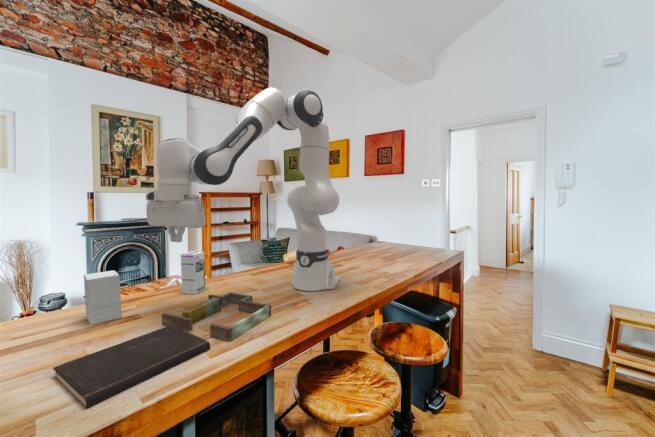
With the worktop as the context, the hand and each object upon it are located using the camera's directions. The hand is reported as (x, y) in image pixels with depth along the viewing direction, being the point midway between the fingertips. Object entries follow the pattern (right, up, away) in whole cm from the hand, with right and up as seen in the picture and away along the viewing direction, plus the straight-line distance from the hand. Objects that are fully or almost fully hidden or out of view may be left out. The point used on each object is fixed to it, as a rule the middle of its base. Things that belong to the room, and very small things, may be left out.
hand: (176, 241), depth 88 cm
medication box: (+9, -22, -2) cm, 24 cm away
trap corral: (+15, -21, -2) cm, 26 cm away
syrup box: (-4, -20, +21) cm, 29 cm away
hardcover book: (+5, -24, -26) cm, 35 cm away
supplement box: (-19, -22, -4) cm, 29 cm away
